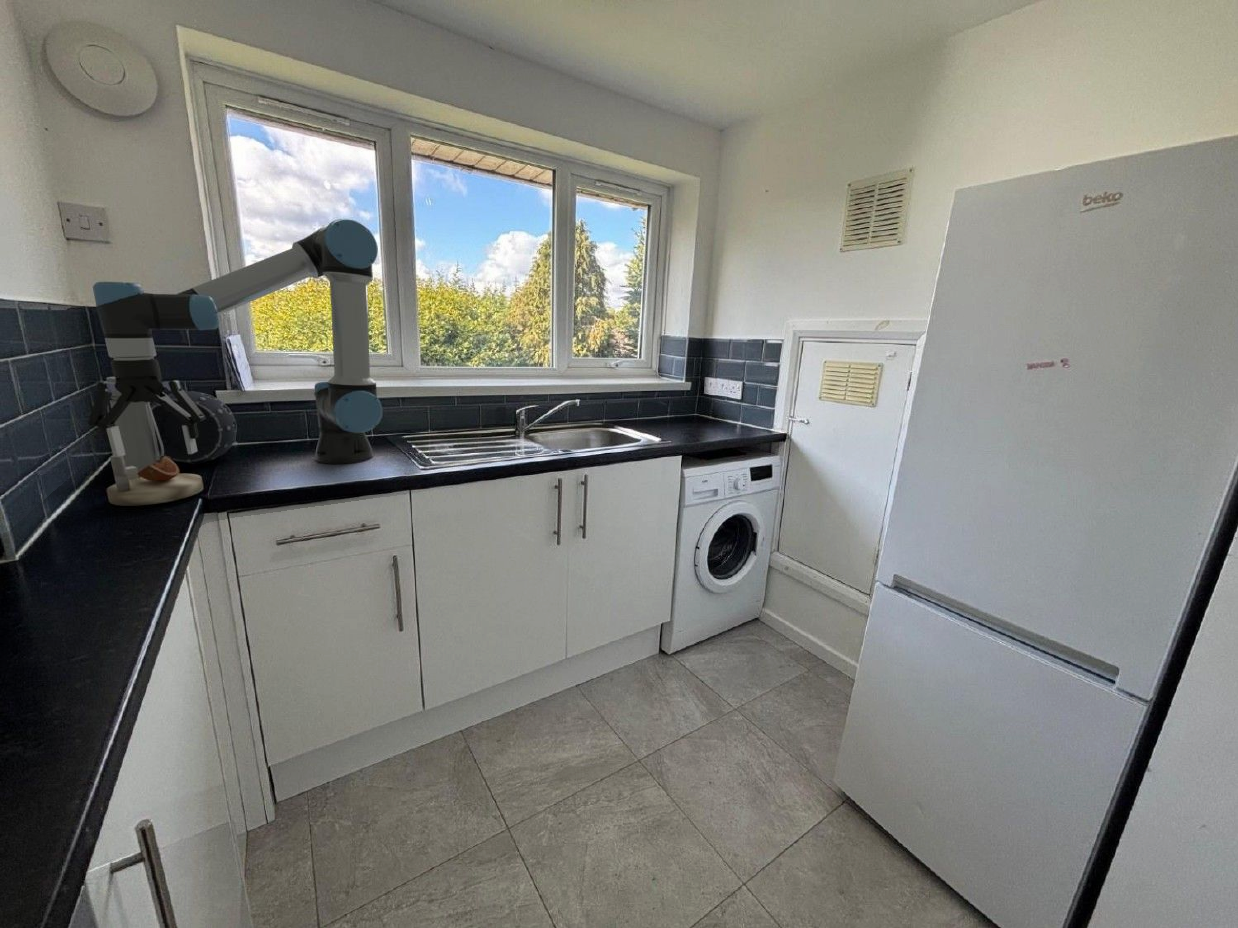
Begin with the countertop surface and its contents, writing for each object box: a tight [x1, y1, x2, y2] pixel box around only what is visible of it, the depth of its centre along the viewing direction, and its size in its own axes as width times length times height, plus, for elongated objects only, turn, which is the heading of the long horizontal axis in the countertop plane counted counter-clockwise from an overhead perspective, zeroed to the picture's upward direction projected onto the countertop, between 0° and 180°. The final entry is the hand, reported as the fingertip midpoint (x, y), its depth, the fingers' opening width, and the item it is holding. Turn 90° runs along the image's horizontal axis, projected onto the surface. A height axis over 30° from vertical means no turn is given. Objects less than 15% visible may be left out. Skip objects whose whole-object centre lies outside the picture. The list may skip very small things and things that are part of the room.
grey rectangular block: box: [126, 466, 139, 480], centre depth 121 cm, size 2×2×5 cm
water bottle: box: [105, 376, 164, 473], centre depth 130 cm, size 9×8×25 cm
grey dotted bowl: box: [150, 391, 238, 465], centre depth 143 cm, size 11×20×20 cm, turn 107°
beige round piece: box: [106, 455, 204, 507], centre depth 115 cm, size 16×19×10 cm
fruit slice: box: [137, 456, 180, 481], centre depth 116 cm, size 8×7×5 cm
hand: (157, 454), depth 115 cm, fingers open, 13 cm apart
